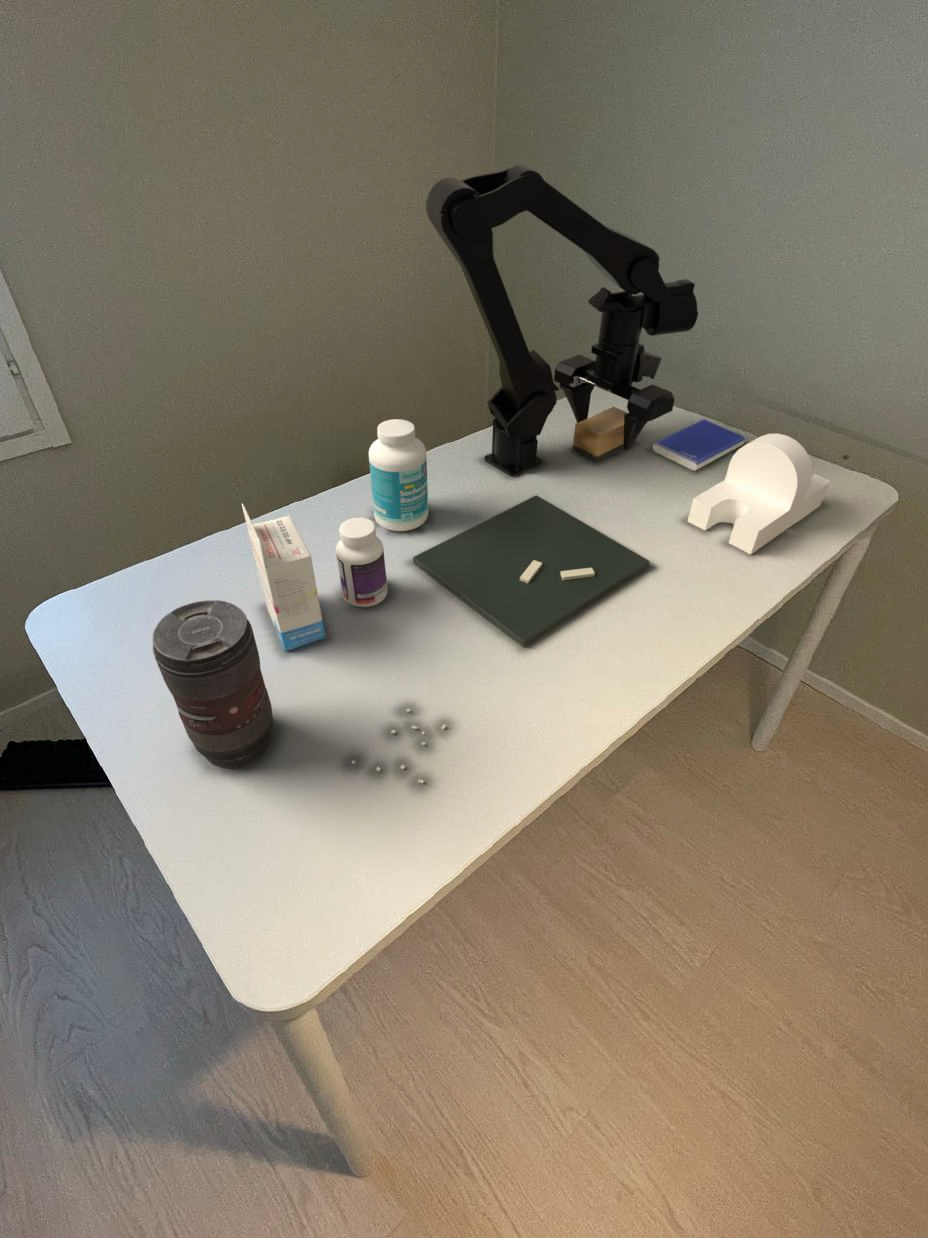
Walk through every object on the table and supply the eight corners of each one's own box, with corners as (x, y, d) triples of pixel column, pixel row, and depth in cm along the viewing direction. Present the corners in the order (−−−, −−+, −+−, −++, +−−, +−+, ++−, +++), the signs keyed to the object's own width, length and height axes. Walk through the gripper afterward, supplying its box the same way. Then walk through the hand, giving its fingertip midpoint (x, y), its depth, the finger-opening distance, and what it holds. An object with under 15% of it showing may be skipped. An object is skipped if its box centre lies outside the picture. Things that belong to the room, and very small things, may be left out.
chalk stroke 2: (563, 580, 85) (563, 577, 85) (560, 574, 86) (560, 571, 86) (594, 576, 86) (595, 573, 85) (591, 570, 87) (591, 567, 86)
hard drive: (697, 462, 105) (746, 436, 110) (654, 441, 109) (702, 417, 115) (695, 471, 106) (743, 445, 112) (652, 450, 110) (700, 426, 116)
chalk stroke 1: (528, 583, 85) (528, 580, 84) (519, 580, 85) (519, 577, 85) (542, 565, 87) (542, 562, 87) (533, 562, 88) (533, 559, 87)
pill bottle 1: (396, 586, 86) (390, 520, 79) (373, 613, 82) (365, 546, 76) (357, 575, 87) (349, 509, 81) (334, 601, 84) (323, 534, 77)
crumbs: (390, 703, 72) (390, 702, 72) (454, 724, 70) (454, 723, 70) (351, 762, 66) (351, 762, 66) (420, 787, 64) (420, 787, 64)
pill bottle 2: (409, 539, 93) (403, 447, 84) (363, 523, 96) (353, 432, 86) (439, 512, 98) (436, 422, 89) (394, 497, 100) (387, 408, 91)
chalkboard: (413, 563, 89) (412, 557, 89) (536, 500, 100) (536, 494, 99) (523, 647, 78) (523, 641, 77) (648, 567, 89) (650, 561, 88)
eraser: (572, 450, 110) (575, 423, 107) (609, 432, 115) (613, 406, 112) (596, 462, 108) (600, 435, 105) (634, 443, 112) (638, 417, 109)
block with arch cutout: (750, 554, 91) (776, 480, 83) (687, 521, 96) (706, 448, 89) (822, 504, 99) (851, 432, 92) (760, 476, 105) (783, 406, 97)
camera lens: (293, 749, 68) (263, 638, 58) (210, 788, 65) (163, 677, 54) (262, 696, 73) (230, 584, 63) (184, 730, 70) (137, 618, 59)
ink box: (328, 639, 79) (308, 531, 69) (284, 653, 77) (258, 544, 67) (306, 594, 85) (285, 489, 75) (265, 607, 83) (238, 500, 73)
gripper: (708, 343, 98) (684, 444, 109) (606, 307, 109) (593, 403, 119) (658, 364, 93) (638, 468, 103) (556, 325, 103) (547, 423, 114)
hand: (604, 438), depth 110 cm, fingers open, 9 cm apart
